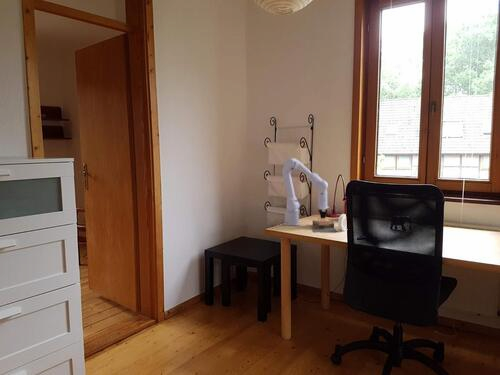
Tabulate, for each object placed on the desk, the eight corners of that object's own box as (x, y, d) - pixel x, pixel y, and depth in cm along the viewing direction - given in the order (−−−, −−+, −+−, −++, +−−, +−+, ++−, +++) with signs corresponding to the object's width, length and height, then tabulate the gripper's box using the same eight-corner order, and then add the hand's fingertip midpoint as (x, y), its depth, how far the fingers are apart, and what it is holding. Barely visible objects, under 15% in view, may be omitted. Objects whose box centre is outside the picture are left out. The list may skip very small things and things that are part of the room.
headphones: (341, 232, 232) (341, 215, 231) (338, 231, 234) (337, 215, 233) (358, 226, 249) (358, 210, 248) (354, 225, 250) (354, 210, 249)
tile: (319, 225, 240) (319, 221, 240) (318, 221, 249) (318, 218, 249) (329, 225, 240) (329, 221, 239) (327, 221, 249) (327, 218, 248)
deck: (313, 228, 245) (313, 223, 245) (312, 224, 256) (312, 220, 256) (334, 228, 244) (334, 223, 243) (332, 224, 255) (332, 220, 254)
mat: (313, 232, 235) (313, 231, 235) (312, 228, 244) (312, 228, 244) (336, 232, 233) (336, 231, 233) (335, 228, 243) (335, 228, 243)
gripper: (330, 201, 241) (330, 223, 242) (328, 198, 255) (328, 218, 257) (318, 201, 242) (318, 223, 243) (317, 198, 256) (317, 218, 258)
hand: (323, 220), depth 250 cm, fingers closed
